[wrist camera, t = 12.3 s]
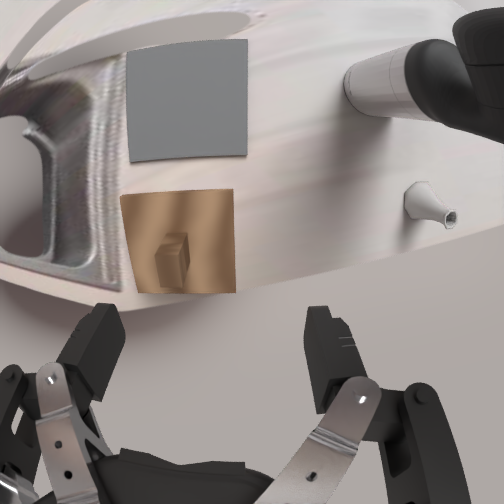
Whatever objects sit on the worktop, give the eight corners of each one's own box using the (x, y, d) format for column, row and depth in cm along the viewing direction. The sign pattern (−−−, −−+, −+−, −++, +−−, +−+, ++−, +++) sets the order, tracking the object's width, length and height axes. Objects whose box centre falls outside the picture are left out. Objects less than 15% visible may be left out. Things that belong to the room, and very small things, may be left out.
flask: (399, 188, 42) (432, 207, 34) (429, 175, 41) (464, 190, 32) (407, 223, 46) (437, 248, 37) (435, 209, 44) (467, 230, 35)
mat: (247, 40, 31) (247, 39, 31) (247, 154, 39) (247, 154, 39) (128, 52, 30) (127, 52, 30) (131, 161, 39) (129, 162, 38)
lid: (233, 188, 32) (232, 206, 26) (235, 288, 39) (235, 321, 32) (122, 194, 32) (98, 213, 26) (140, 289, 38) (125, 319, 32)
